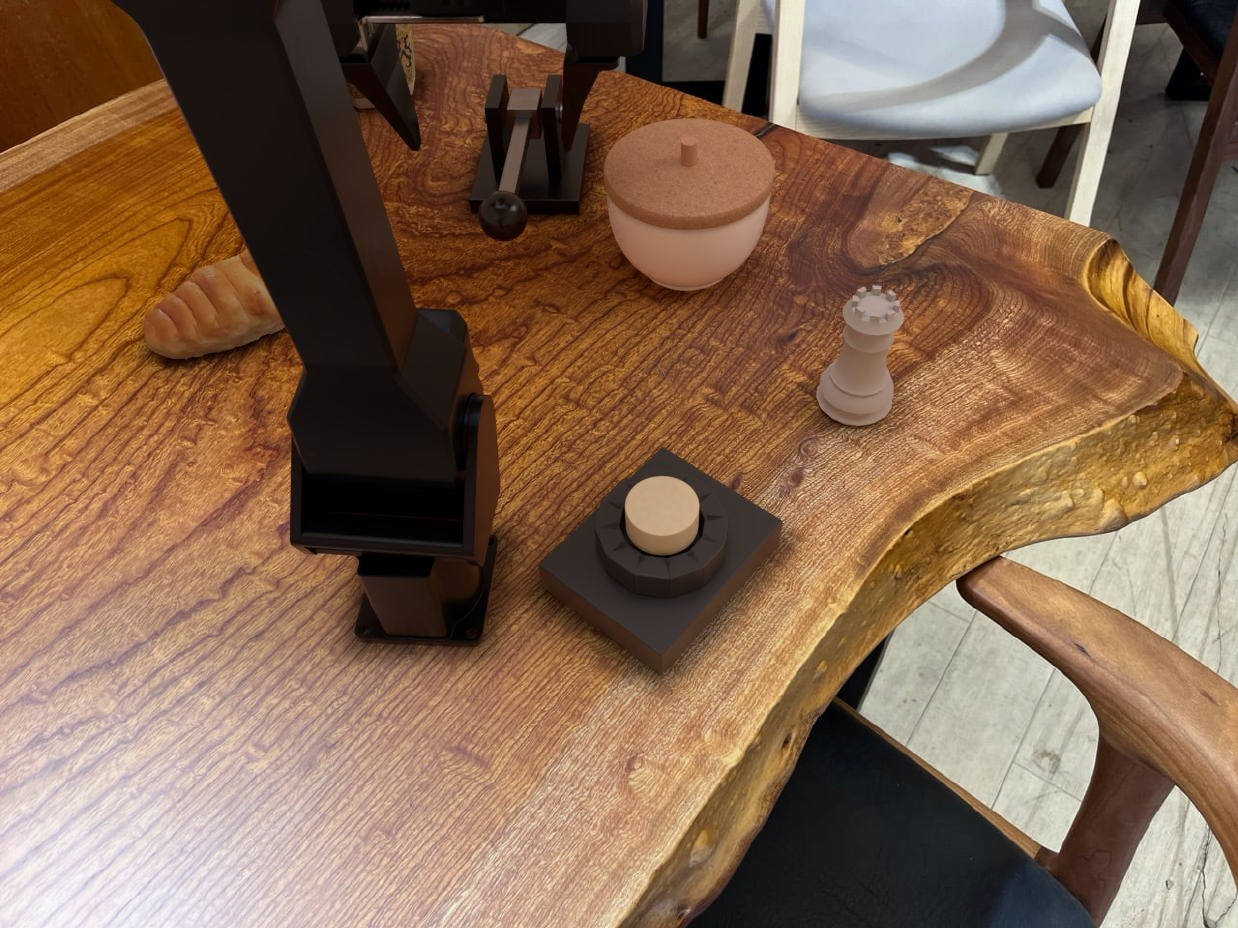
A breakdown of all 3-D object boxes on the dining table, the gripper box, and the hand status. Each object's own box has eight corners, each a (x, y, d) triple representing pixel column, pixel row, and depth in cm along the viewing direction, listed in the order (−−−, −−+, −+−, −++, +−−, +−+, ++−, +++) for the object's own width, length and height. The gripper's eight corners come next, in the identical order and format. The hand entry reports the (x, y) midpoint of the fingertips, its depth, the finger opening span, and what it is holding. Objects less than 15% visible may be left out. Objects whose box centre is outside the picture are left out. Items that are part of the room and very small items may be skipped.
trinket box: (648, 334, 62) (647, 213, 54) (584, 240, 68) (574, 120, 61) (794, 285, 64) (811, 163, 57) (718, 199, 70) (725, 78, 63)
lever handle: (527, 252, 62) (521, 211, 60) (478, 251, 62) (470, 210, 60) (551, 123, 71) (548, 82, 69) (509, 123, 72) (503, 82, 69)
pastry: (175, 386, 60) (149, 342, 57) (135, 331, 64) (109, 286, 61) (309, 319, 64) (292, 274, 61) (265, 270, 67) (246, 225, 64)
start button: (667, 568, 46) (667, 548, 45) (610, 530, 48) (609, 509, 46) (712, 521, 48) (714, 500, 46) (656, 485, 49) (656, 464, 48)
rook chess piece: (801, 388, 58) (818, 286, 52) (866, 367, 59) (890, 265, 53) (839, 440, 56) (861, 339, 49) (905, 417, 57) (936, 315, 50)
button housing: (661, 677, 47) (661, 637, 44) (541, 587, 50) (533, 544, 47) (779, 544, 51) (786, 499, 48) (662, 470, 55) (662, 424, 52)
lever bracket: (579, 214, 70) (573, 130, 65) (470, 213, 70) (455, 130, 65) (590, 136, 76) (585, 54, 71) (490, 136, 77) (478, 54, 71)
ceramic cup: (460, 82, 82) (439, -39, 74) (370, 134, 77) (337, 11, 70) (362, 37, 88) (333, -81, 80) (272, 83, 83) (232, -37, 75)
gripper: (650, -203, 50) (652, 78, 62) (302, -197, 51) (370, 77, 64) (640, -119, 43) (644, 179, 55) (237, -114, 44) (327, 176, 57)
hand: (492, 147), depth 58 cm, fingers open, 9 cm apart
